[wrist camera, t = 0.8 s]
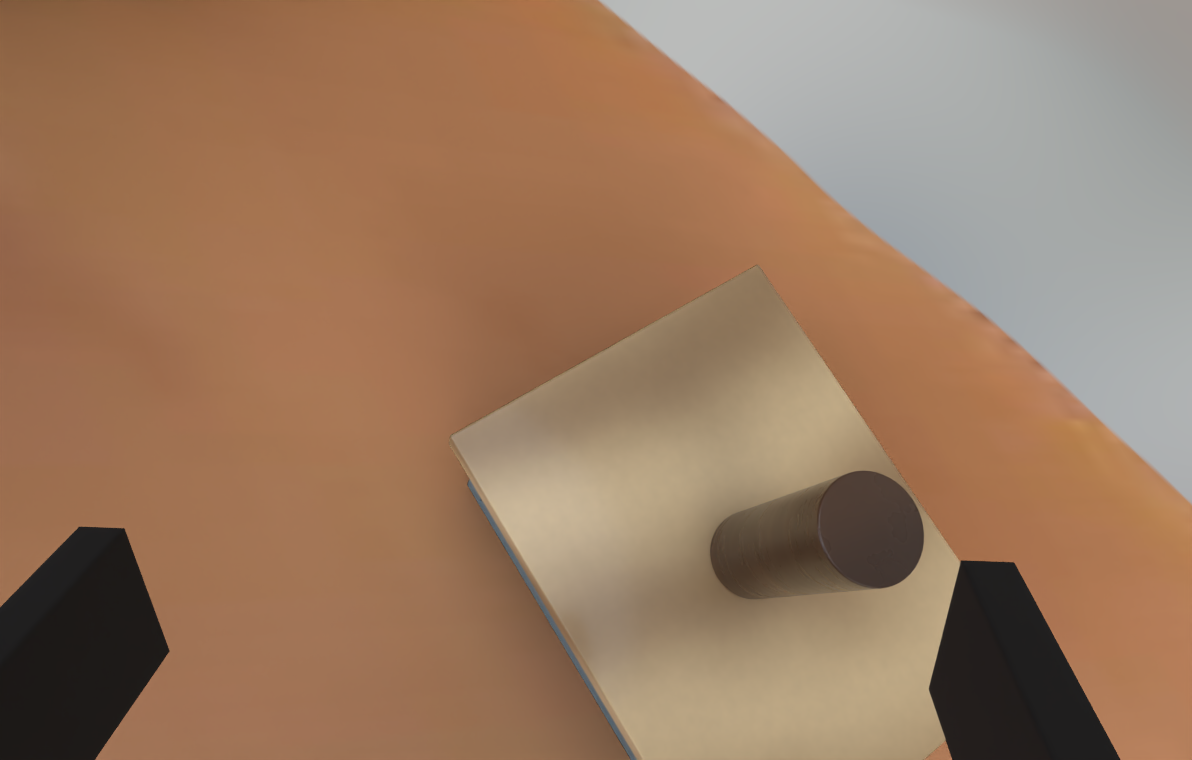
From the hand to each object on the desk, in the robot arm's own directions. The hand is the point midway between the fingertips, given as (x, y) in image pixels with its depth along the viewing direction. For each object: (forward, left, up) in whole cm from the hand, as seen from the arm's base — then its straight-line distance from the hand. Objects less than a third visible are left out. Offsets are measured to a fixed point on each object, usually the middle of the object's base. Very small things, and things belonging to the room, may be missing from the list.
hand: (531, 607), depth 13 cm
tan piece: (+2, +10, -15) cm, 18 cm away
